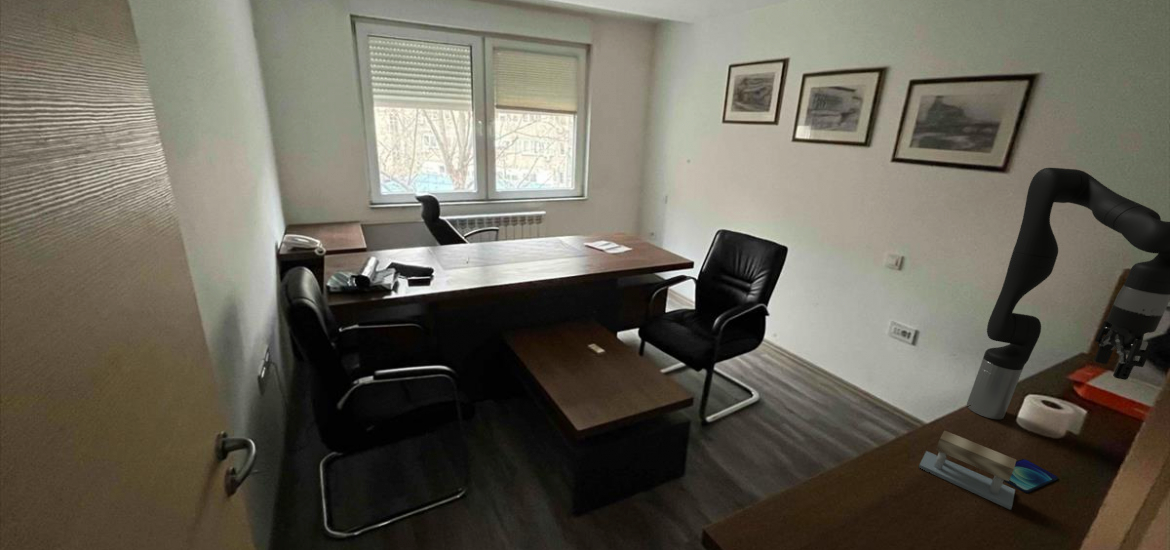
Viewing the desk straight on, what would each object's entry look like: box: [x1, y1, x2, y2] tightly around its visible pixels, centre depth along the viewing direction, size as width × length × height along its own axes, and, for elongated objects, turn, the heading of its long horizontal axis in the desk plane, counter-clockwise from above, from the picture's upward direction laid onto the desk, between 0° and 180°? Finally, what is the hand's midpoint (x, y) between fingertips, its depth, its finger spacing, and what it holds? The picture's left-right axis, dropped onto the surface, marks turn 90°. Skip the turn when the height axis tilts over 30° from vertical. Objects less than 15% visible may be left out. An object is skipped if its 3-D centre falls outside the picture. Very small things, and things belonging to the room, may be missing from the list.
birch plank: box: [935, 429, 1017, 481], centre depth 111 cm, size 14×5×4 cm, turn 42°
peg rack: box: [918, 450, 1016, 511], centre depth 113 cm, size 18×8×6 cm, turn 44°
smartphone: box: [1003, 458, 1059, 494], centre depth 116 cm, size 8×1×15 cm
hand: (1109, 370), depth 109 cm, fingers open, 8 cm apart
